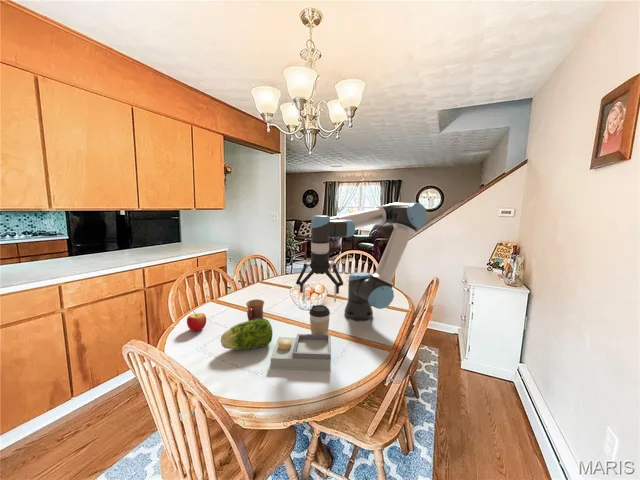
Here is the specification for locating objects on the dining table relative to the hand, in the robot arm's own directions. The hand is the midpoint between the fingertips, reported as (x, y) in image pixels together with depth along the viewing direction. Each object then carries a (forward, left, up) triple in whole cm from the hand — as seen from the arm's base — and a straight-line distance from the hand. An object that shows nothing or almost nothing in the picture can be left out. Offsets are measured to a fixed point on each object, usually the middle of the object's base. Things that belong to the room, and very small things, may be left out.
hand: (319, 300), depth 115 cm
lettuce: (+30, +8, -18) cm, 36 cm away
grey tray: (+6, +14, -18) cm, 24 cm away
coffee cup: (0, 0, -18) cm, 18 cm away
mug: (+33, -13, -18) cm, 40 cm away
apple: (+58, -5, -18) cm, 61 cm away
